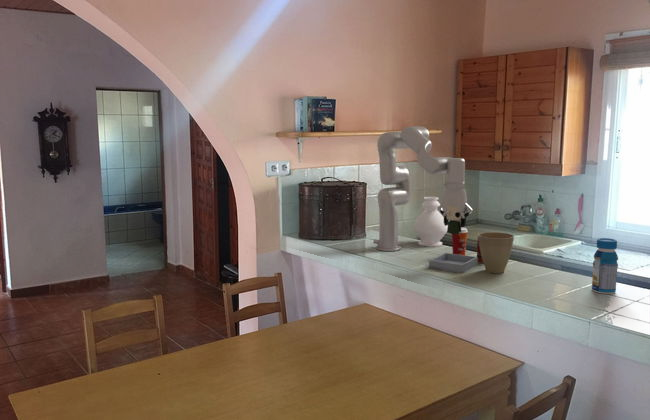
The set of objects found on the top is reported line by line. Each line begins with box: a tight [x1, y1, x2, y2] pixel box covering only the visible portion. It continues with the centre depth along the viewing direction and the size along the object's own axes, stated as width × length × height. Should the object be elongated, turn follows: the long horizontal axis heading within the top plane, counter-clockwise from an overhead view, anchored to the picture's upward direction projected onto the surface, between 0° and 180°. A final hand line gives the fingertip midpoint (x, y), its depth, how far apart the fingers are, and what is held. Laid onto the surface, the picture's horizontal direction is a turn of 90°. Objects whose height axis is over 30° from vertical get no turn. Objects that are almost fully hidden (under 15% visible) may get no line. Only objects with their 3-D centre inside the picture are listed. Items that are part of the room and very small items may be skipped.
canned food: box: [476, 238, 483, 263], centre depth 259 cm, size 8×8×11 cm
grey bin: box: [428, 252, 479, 274], centre depth 249 cm, size 16×18×4 cm
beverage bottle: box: [591, 237, 619, 295], centre depth 209 cm, size 8×8×20 cm
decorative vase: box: [413, 196, 448, 247], centre depth 297 cm, size 18×18×25 cm
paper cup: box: [451, 227, 469, 256], centre depth 266 cm, size 8×8×14 cm
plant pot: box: [477, 231, 515, 274], centre depth 240 cm, size 15×15×16 cm
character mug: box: [446, 206, 462, 236], centre depth 247 cm, size 11×7×13 cm, turn 130°
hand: (454, 225), depth 247 cm, fingers closed on character mug, 7 cm apart
